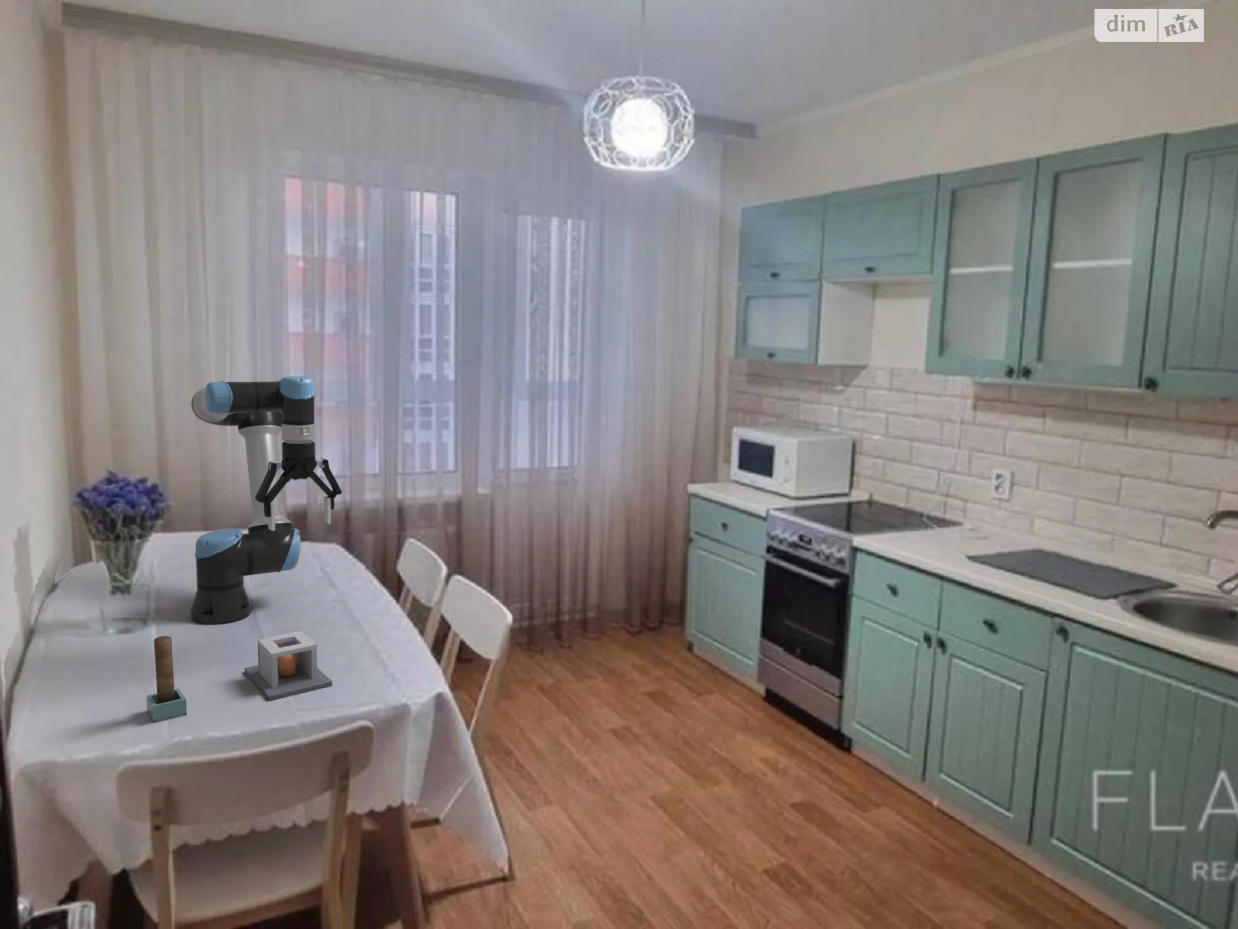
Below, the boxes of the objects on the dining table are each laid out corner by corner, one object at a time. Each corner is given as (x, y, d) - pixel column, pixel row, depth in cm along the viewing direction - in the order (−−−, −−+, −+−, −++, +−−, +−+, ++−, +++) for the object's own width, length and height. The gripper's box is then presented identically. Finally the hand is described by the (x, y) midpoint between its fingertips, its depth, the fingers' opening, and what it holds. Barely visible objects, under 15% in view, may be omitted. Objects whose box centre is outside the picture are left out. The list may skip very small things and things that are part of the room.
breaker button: (276, 671, 198) (276, 653, 198) (293, 668, 201) (292, 650, 200) (282, 677, 196) (281, 659, 195) (298, 673, 198) (298, 655, 197)
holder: (147, 711, 180) (146, 695, 180) (179, 703, 184) (178, 688, 184) (153, 722, 176) (152, 706, 175) (186, 714, 179) (186, 699, 179)
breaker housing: (244, 672, 201) (243, 635, 199) (304, 659, 210) (303, 624, 208) (269, 701, 187) (268, 662, 186) (332, 685, 196) (331, 648, 194)
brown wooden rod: (156, 709, 180) (152, 638, 177) (173, 705, 182) (169, 634, 179) (160, 716, 177) (155, 643, 174) (177, 711, 179) (173, 640, 176)
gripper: (249, 446, 196) (252, 536, 200) (354, 440, 212) (355, 523, 216) (239, 441, 202) (242, 528, 206) (342, 435, 218) (343, 517, 221)
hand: (300, 526), depth 211 cm, fingers open, 13 cm apart
